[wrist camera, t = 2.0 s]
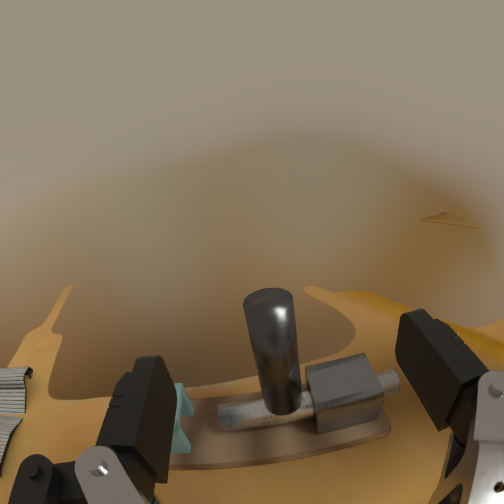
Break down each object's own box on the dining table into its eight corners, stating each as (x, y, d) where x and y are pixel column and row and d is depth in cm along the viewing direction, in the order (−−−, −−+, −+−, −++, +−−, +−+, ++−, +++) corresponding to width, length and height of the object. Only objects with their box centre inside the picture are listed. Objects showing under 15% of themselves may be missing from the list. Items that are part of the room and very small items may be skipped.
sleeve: (360, 380, 33) (364, 352, 31) (378, 418, 27) (384, 392, 26) (306, 394, 33) (304, 366, 31) (317, 435, 27) (317, 410, 26)
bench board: (362, 377, 36) (363, 369, 35) (389, 434, 26) (391, 428, 26) (163, 408, 36) (159, 401, 35) (152, 469, 26) (147, 463, 26)
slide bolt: (386, 378, 32) (401, 261, 26) (398, 401, 28) (423, 281, 22) (224, 412, 32) (185, 301, 26) (224, 439, 28) (179, 328, 22)
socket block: (194, 408, 34) (181, 383, 32) (190, 452, 27) (175, 429, 25) (157, 410, 34) (142, 385, 32) (149, 452, 27) (131, 429, 25)
